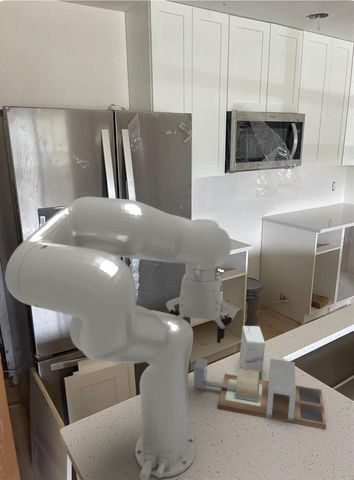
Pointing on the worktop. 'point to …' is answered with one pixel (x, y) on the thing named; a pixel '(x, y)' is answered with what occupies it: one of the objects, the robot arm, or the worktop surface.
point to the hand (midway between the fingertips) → (200, 337)
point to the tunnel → (282, 384)
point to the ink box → (252, 349)
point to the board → (277, 404)
